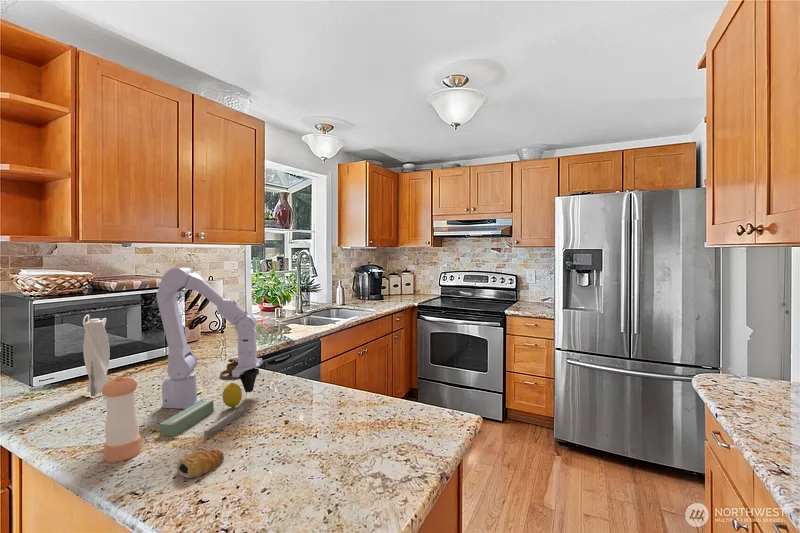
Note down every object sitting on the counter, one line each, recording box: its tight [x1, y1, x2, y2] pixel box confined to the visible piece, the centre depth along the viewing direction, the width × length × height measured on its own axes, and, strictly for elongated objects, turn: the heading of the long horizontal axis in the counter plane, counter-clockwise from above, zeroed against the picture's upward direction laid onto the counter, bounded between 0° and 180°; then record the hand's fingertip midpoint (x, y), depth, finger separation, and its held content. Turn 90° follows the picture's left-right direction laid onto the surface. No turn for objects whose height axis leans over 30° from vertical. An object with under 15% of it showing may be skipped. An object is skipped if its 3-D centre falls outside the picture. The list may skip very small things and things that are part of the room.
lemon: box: [222, 382, 243, 409], centre depth 122 cm, size 6×6×8 cm
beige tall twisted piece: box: [82, 314, 111, 396], centre depth 138 cm, size 8×8×28 cm
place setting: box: [219, 361, 260, 380], centre depth 160 cm, size 18×20×6 cm
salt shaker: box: [101, 375, 142, 463], centre depth 95 cm, size 7×7×19 cm
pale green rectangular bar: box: [158, 399, 215, 437], centre depth 112 cm, size 4×16×4 cm, turn 169°
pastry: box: [176, 448, 225, 479], centre depth 88 cm, size 9×7×4 cm
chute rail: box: [203, 405, 244, 439], centre depth 110 cm, size 1×16×2 cm, turn 170°
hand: (249, 391), depth 131 cm, fingers closed
